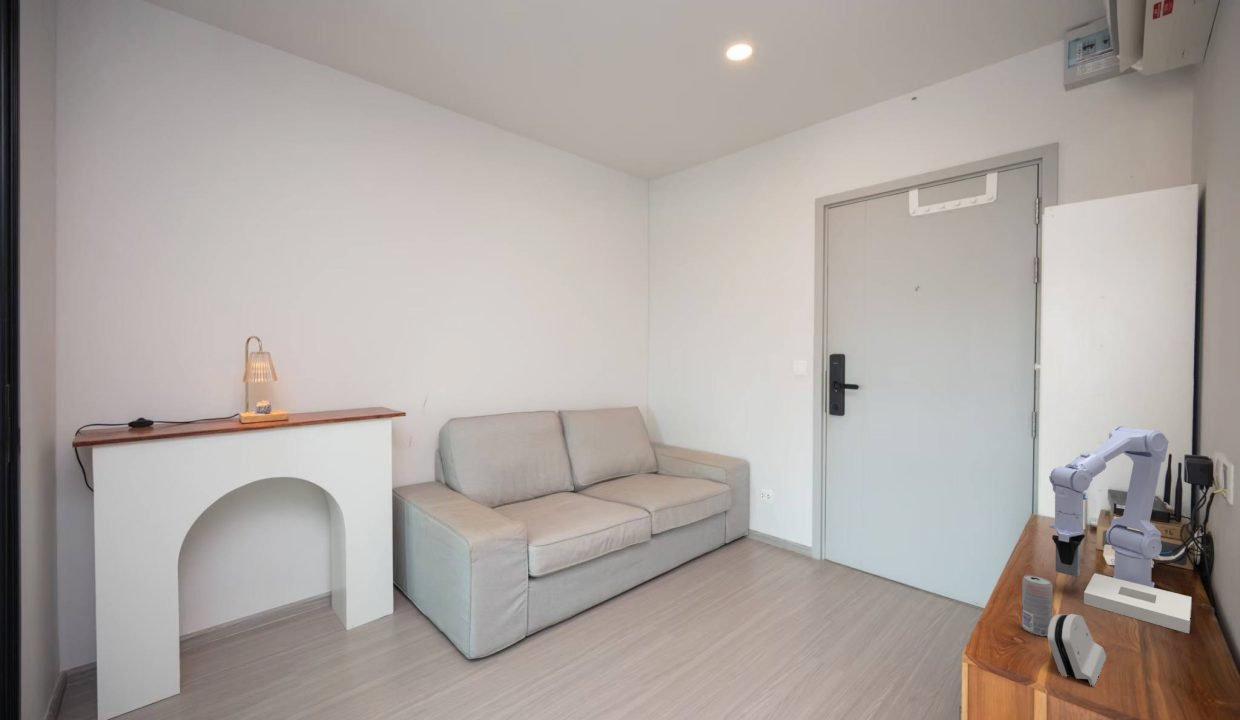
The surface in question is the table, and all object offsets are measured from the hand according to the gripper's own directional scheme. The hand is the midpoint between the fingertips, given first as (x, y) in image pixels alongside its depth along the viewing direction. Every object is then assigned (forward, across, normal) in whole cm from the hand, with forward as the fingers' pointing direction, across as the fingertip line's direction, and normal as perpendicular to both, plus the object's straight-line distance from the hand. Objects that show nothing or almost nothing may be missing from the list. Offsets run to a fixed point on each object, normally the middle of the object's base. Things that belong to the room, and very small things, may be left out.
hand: (1068, 561), depth 136 cm
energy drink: (+8, +32, -1) cm, 33 cm away
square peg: (+3, 0, 0) cm, 3 cm away
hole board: (+8, -3, +13) cm, 16 cm away
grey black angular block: (+8, +41, +7) cm, 43 cm away
